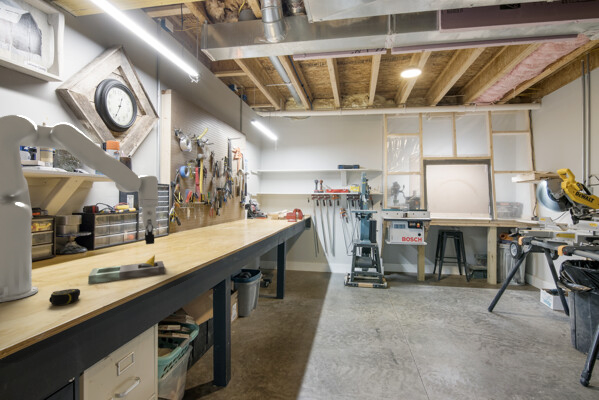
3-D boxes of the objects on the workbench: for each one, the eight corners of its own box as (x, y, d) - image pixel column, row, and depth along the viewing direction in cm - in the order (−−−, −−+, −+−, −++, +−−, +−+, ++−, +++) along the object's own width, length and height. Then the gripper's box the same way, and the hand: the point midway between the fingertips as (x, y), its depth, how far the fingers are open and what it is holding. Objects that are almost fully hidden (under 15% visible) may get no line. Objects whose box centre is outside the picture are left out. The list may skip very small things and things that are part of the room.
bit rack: (162, 267, 124) (162, 260, 124) (164, 273, 114) (164, 266, 114) (92, 275, 111) (92, 268, 111) (88, 283, 100) (88, 275, 100)
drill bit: (136, 275, 113) (147, 255, 121) (149, 279, 115) (159, 259, 122) (138, 269, 110) (149, 250, 117) (151, 273, 112) (161, 254, 119)
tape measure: (80, 297, 87) (80, 286, 87) (76, 304, 81) (76, 292, 81) (53, 301, 84) (53, 290, 83) (46, 309, 78) (46, 296, 78)
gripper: (159, 203, 111) (160, 244, 111) (156, 202, 125) (157, 238, 126) (138, 204, 107) (139, 246, 107) (138, 203, 121) (139, 240, 122)
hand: (149, 242), depth 116 cm, fingers open, 9 cm apart
